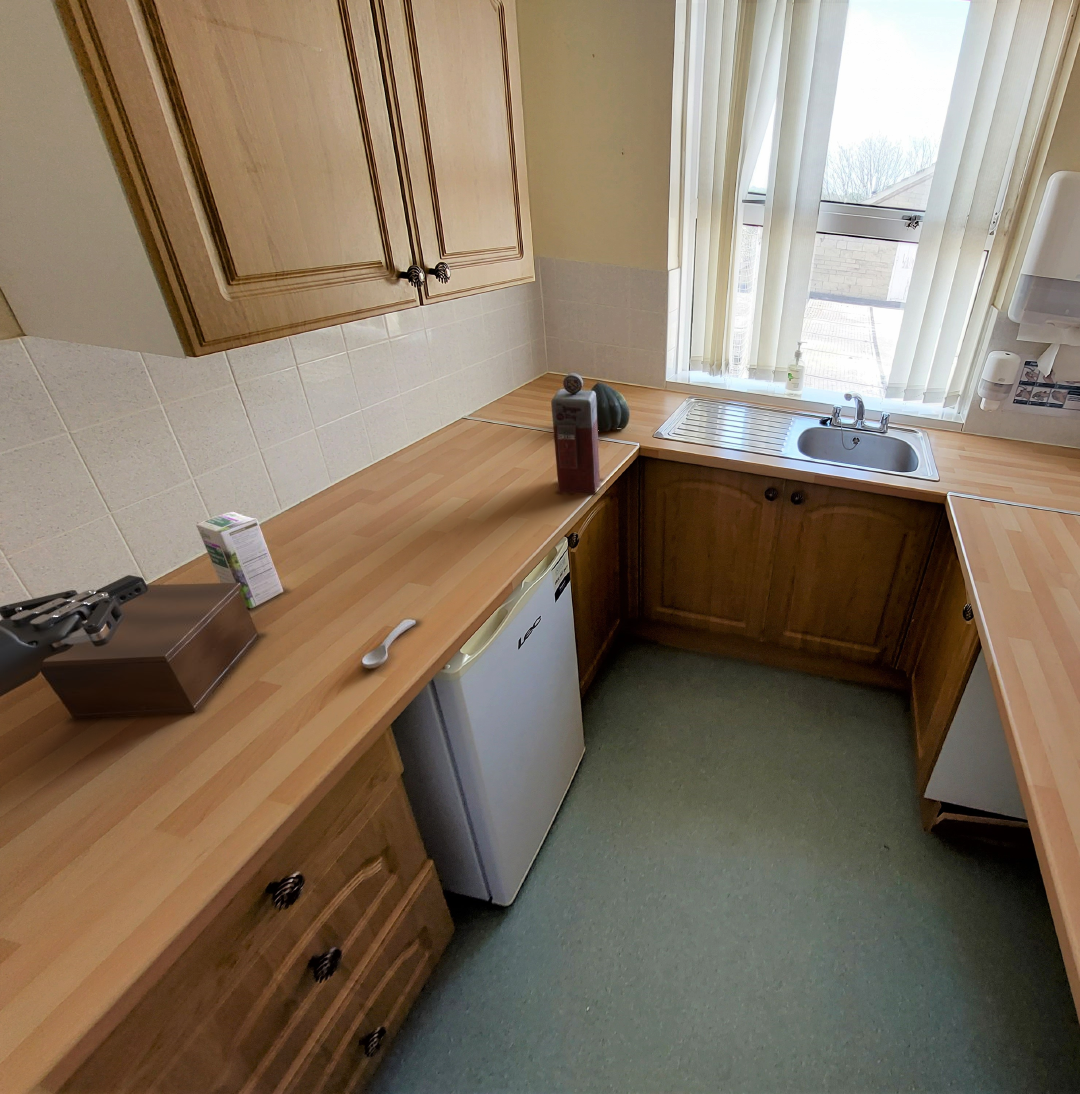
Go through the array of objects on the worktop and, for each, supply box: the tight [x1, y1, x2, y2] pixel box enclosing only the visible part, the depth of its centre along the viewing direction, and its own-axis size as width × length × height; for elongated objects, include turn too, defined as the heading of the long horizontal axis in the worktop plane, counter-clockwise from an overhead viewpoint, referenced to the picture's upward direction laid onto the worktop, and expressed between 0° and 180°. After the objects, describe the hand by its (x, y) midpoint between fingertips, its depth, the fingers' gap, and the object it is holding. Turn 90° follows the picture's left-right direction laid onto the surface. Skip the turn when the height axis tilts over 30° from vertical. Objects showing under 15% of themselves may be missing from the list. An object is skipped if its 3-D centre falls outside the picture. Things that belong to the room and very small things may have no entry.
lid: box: [41, 582, 242, 667], centre depth 76 cm, size 16×14×1 cm
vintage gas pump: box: [550, 372, 601, 495], centre depth 136 cm, size 9×11×28 cm
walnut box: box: [40, 591, 260, 720], centre depth 78 cm, size 16×14×9 cm
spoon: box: [361, 618, 416, 669], centre depth 88 cm, size 3×12×2 cm, turn 178°
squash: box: [589, 381, 631, 433], centre depth 180 cm, size 14×15×15 cm
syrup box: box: [195, 511, 284, 609], centre depth 93 cm, size 6×6×14 cm
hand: (140, 582), depth 69 cm, fingers closed
